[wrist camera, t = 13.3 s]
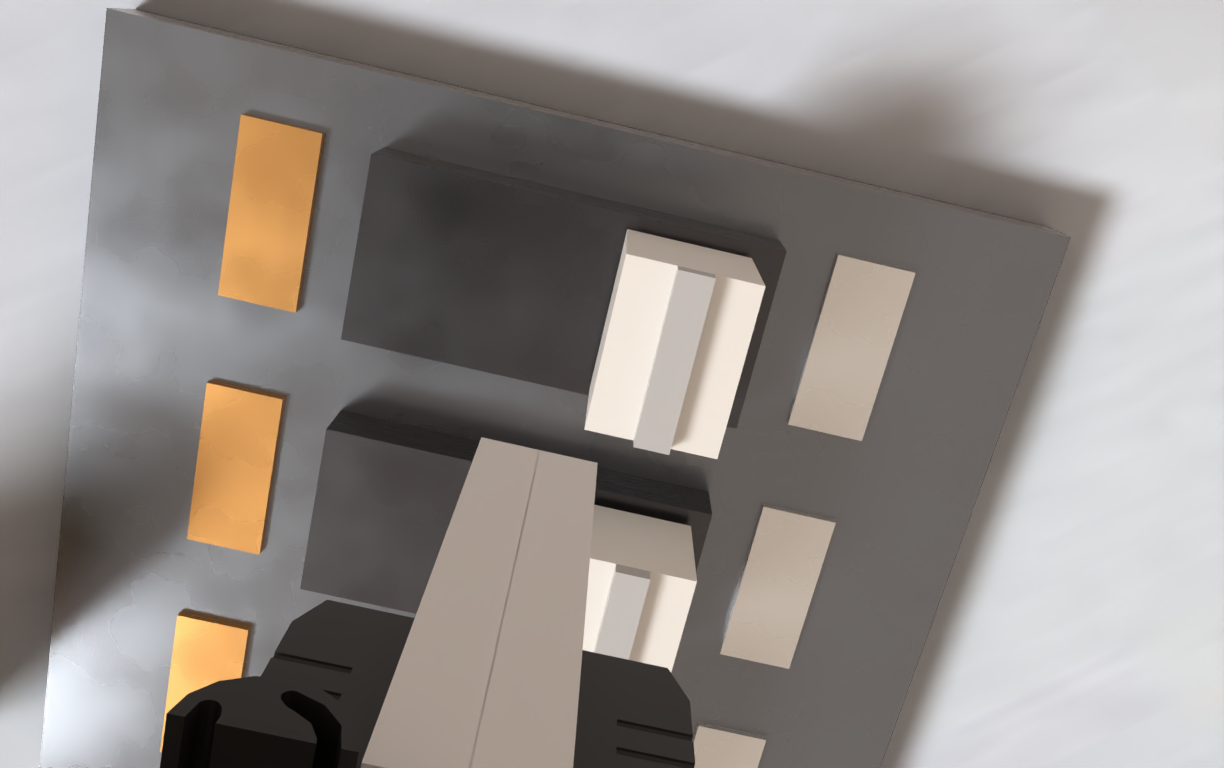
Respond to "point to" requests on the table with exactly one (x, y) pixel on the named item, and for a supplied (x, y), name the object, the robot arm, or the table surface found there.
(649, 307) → the block
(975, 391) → the panel
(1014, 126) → the table surface
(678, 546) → the breaker
